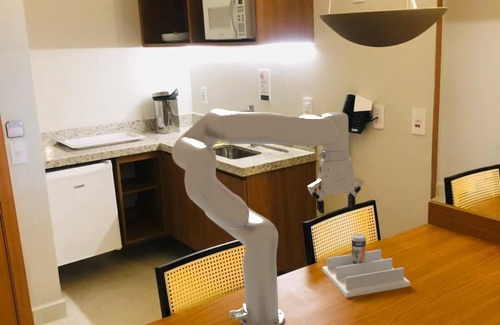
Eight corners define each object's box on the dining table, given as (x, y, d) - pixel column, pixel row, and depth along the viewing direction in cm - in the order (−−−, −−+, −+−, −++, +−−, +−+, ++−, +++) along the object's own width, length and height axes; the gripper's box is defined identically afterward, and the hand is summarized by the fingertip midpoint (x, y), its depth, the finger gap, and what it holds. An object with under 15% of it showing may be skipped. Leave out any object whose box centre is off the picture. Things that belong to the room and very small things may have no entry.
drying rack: (346, 297, 162) (345, 281, 160) (322, 270, 180) (321, 256, 179) (410, 286, 166) (410, 270, 165) (380, 261, 185) (380, 246, 184)
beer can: (349, 271, 176) (349, 237, 173) (354, 265, 180) (354, 232, 177) (363, 273, 173) (363, 239, 170) (368, 268, 177) (368, 234, 174)
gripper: (312, 160, 147) (313, 218, 151) (368, 154, 150) (368, 210, 154) (303, 155, 154) (304, 210, 158) (357, 149, 157) (357, 202, 162)
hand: (336, 210), depth 156 cm, fingers open, 9 cm apart
